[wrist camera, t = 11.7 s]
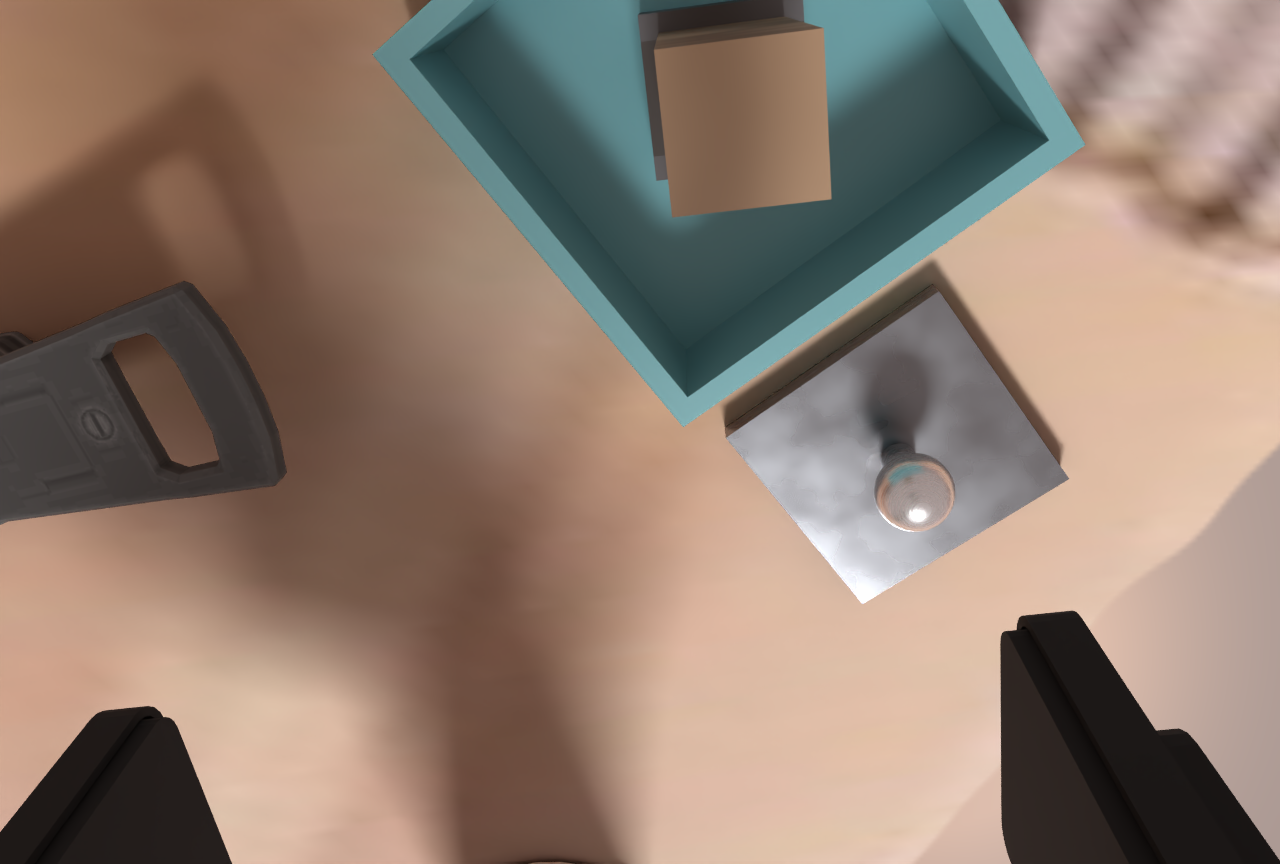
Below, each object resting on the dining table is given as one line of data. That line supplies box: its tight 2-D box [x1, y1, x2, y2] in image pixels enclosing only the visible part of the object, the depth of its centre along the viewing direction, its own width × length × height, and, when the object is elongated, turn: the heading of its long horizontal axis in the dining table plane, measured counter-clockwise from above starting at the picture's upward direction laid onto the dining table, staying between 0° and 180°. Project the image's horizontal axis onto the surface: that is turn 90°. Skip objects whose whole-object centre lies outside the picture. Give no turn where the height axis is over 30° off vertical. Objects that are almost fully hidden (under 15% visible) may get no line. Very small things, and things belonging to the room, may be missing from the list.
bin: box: [372, 0, 1085, 427], centre depth 34 cm, size 16×16×6 cm
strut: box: [638, 0, 831, 218], centre depth 30 cm, size 5×5×12 cm
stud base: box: [725, 284, 1069, 604], centre depth 40 cm, size 10×10×6 cm
